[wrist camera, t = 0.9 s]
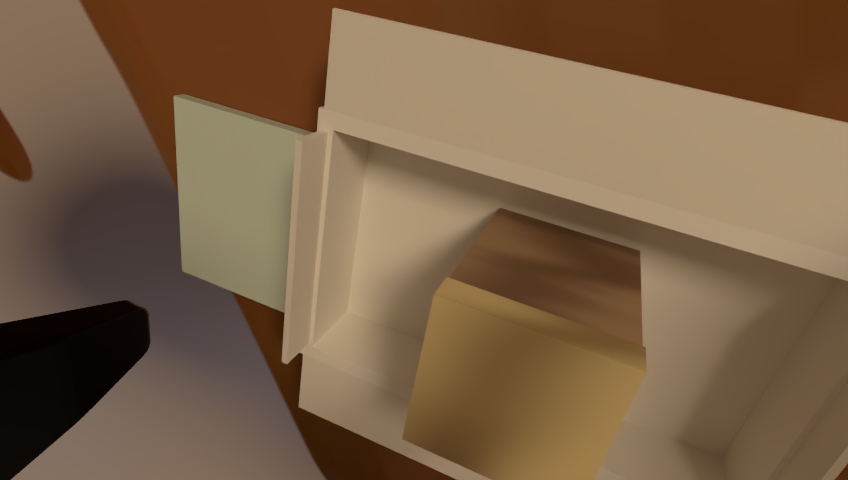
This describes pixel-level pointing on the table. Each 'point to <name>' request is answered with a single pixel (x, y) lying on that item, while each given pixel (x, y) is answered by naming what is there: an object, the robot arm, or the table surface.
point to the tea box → (530, 353)
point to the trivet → (235, 197)
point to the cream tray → (587, 213)
